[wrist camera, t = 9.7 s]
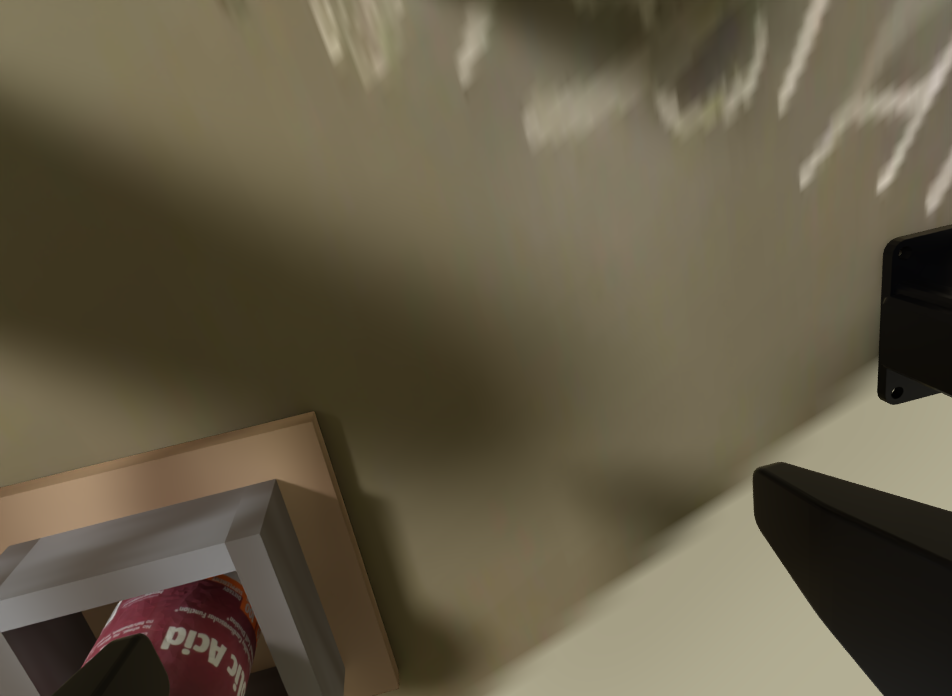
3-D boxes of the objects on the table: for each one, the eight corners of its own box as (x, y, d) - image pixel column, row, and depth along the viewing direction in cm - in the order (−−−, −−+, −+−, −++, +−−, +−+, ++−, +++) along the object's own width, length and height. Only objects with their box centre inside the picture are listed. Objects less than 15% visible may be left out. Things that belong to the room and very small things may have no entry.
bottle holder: (314, 411, 20) (301, 468, 17) (398, 671, 24) (402, 761, 21) (-57, 501, 19) (-154, 582, 16) (97, 756, 24) (47, 866, 20)
